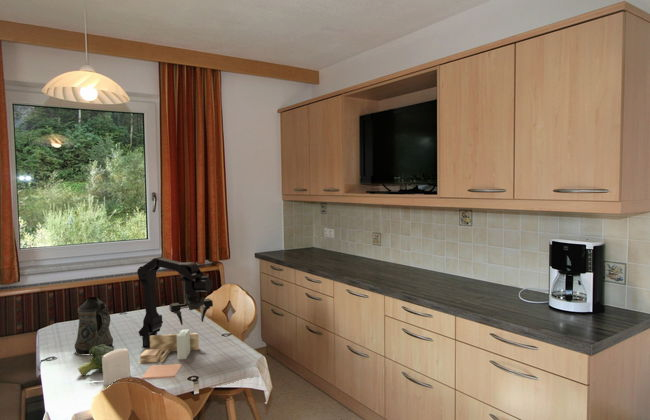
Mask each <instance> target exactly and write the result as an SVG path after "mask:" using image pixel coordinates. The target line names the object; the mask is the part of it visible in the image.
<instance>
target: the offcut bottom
mask: <svg viewBox="0 0 650 420" xmlns="http://www.w3.org/2000/svg"><path fill="white" fill-rule="evenodd" d="M163 354H164V353H162V355H163ZM161 357H162V356H161ZM161 357H160V358H161ZM160 358H159V359H158V361H156V362H155V363H158V362H159V361H160ZM148 363H149V364H151V363H153V362H140V361H138V364H148Z"/></svg>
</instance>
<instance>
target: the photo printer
mask: <svg viewBox="0 0 650 420" xmlns="http://www.w3.org/2000/svg"><path fill="white" fill-rule="evenodd" d="M129 352H130V351H129V350H128V349H127V348H117V349H114V350H113V351H111V352H109V353H107V354H105V355H104V356H103V357H102V368H103V373H102V379H103V385H104V386H110V385H112V384H111V383H113V382H114V381H115V380H117V379H119V378H123V377H128V378H130V377H131V362H130V360H131V359H130V353H129ZM113 384H114V383H113Z"/></svg>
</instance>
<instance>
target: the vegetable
mask: <svg viewBox="0 0 650 420" xmlns="http://www.w3.org/2000/svg"><path fill="white" fill-rule="evenodd" d="M113 350H115V348H113V347H110V346H106V345H105V344H101V345H99V346H94V347H92V348H91V349H90V350H89V354H90V355H89V356H91V358H90V360H89V361H88V362H87V363H84V364H82V365H80V366H78V368H77V369H78V372H79V374H80V375H81V376H82V375H84V376H86V374H87V375H88V373H90V372H91V371H92V370H100V371H99V372H100V373H102V374H103V368H102V357H103V356H104V355H105V354H107V353H109V352H111V351H113ZM91 354H92V355H91Z"/></svg>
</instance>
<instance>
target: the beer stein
mask: <svg viewBox="0 0 650 420" xmlns="http://www.w3.org/2000/svg"><path fill="white" fill-rule="evenodd" d="M77 313H78V314H79V319H78V328H77V336H76V341H75V343H74V347H73V348H75V352H77V353H79V354H89V350H90V349H91V348H92V347H94V346H99V345H101V344H105V345H106V346H110V347H111V348H113V343H114V339H113V337H112V333H111V330H110V328H109V327H110V324H111V315H110V312H109V310H107V304H106V303H105V302H103V301H101V300H100V299H99V298H98V296H92V297H88V298H87V299H85V301H84V303H82V304H81V305H80V306H79V307H78V308H77ZM77 353H76V354H77ZM79 354H78V355H79Z"/></svg>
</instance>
